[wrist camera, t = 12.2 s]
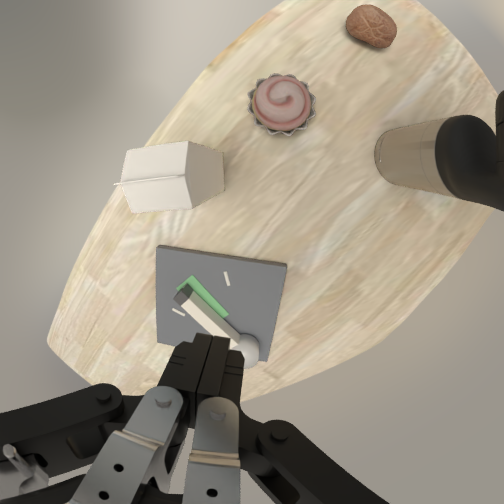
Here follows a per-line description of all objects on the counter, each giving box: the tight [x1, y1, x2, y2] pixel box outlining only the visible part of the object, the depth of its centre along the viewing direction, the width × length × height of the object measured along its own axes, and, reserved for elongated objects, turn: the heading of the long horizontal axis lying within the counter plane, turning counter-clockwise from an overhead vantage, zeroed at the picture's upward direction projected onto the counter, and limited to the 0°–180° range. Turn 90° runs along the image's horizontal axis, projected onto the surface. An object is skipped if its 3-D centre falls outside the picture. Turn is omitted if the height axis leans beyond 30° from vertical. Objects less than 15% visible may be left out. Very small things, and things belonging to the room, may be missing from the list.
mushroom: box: [346, 5, 397, 48], centre depth 28 cm, size 8×6×8 cm
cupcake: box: [247, 74, 316, 136], centre depth 32 cm, size 9×9×10 cm
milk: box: [113, 141, 225, 213], centre depth 30 cm, size 6×6×22 cm
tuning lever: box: [173, 284, 259, 369], centre depth 44 cm, size 18×5×4 cm, turn 42°
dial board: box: [156, 245, 287, 362], centre depth 46 cm, size 21×19×2 cm
